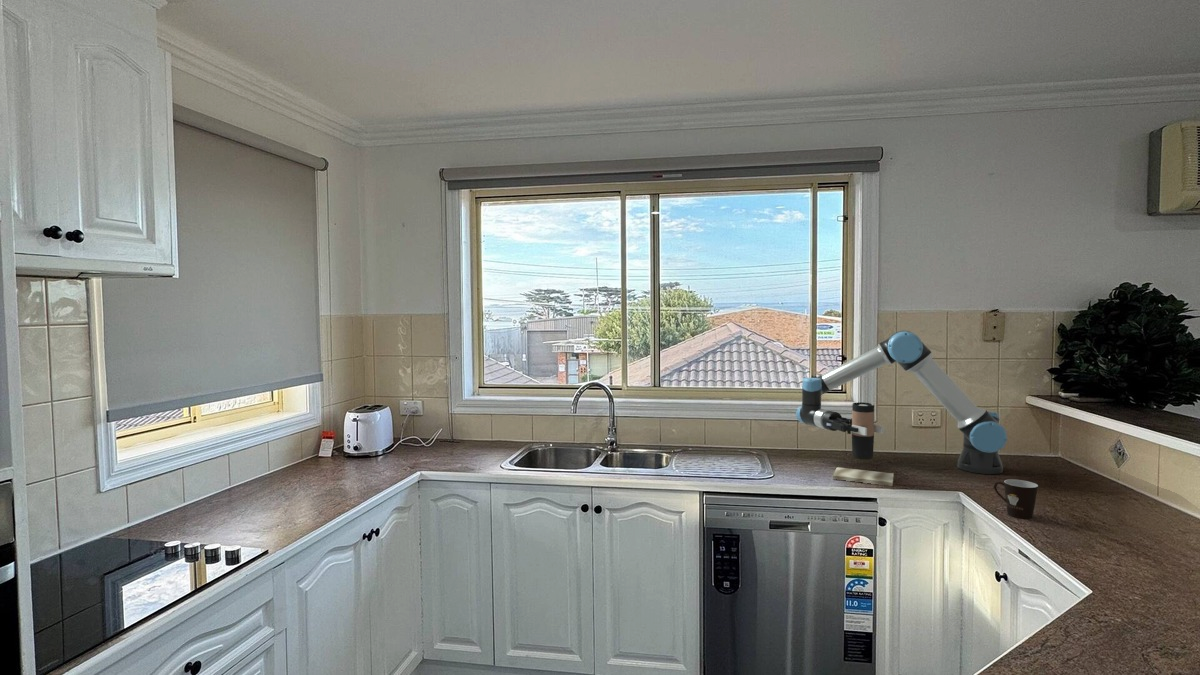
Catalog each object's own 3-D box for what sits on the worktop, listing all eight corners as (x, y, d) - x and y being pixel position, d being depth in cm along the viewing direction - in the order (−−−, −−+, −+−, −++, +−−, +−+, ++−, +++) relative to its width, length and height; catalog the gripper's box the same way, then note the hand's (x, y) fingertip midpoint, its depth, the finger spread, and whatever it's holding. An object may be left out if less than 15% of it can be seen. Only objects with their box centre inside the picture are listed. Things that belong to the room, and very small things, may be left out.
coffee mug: (1043, 520, 184) (1045, 487, 183) (1014, 520, 184) (1015, 487, 183) (1018, 507, 195) (1019, 476, 195) (990, 507, 195) (991, 476, 195)
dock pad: (893, 477, 230) (893, 473, 230) (892, 486, 219) (892, 482, 219) (836, 471, 239) (836, 467, 239) (832, 479, 228) (833, 475, 228)
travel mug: (848, 457, 229) (848, 404, 228) (856, 453, 235) (856, 401, 233) (869, 460, 224) (870, 406, 222) (876, 456, 229) (877, 403, 228)
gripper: (847, 427, 249) (894, 438, 228) (808, 431, 241) (853, 443, 220) (848, 409, 248) (895, 418, 227) (808, 412, 240) (853, 422, 219)
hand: (874, 430), depth 224 cm, fingers closed on travel mug, 7 cm apart
